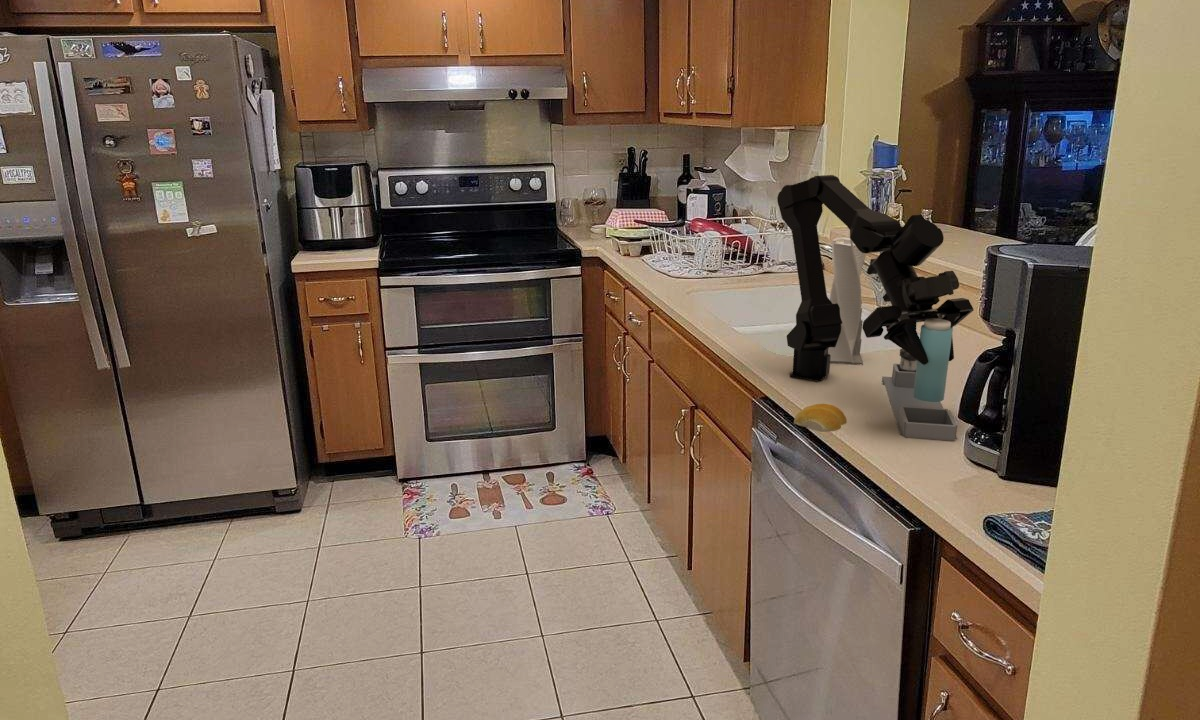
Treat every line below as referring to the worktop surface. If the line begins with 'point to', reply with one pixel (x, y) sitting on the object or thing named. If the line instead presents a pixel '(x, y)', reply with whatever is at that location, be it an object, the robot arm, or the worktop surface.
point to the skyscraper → (847, 300)
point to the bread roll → (821, 417)
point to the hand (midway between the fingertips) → (938, 361)
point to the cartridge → (933, 360)
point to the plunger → (907, 362)
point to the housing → (917, 410)
